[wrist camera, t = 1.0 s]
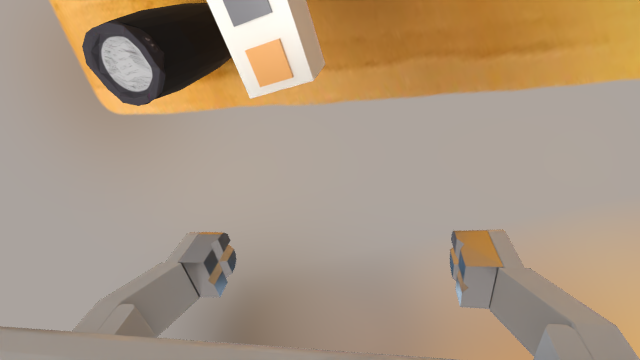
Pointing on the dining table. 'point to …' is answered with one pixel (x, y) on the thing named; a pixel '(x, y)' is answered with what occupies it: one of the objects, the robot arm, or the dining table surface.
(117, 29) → the portable speaker
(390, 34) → the dining table surface
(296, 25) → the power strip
